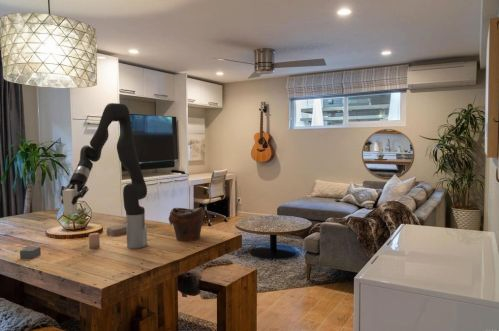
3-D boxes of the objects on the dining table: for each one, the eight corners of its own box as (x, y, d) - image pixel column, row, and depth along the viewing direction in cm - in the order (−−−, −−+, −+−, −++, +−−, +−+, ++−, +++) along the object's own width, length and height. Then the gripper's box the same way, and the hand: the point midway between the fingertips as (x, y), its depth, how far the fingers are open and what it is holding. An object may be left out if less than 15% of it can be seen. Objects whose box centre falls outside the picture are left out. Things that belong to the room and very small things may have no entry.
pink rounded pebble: (101, 246, 185) (101, 232, 185) (96, 249, 180) (96, 235, 180) (92, 245, 185) (91, 232, 185) (87, 248, 180) (86, 235, 180)
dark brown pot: (165, 236, 202) (165, 205, 200) (198, 232, 211) (198, 202, 210) (174, 245, 186) (173, 211, 185) (209, 240, 195) (209, 208, 194)
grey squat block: (40, 254, 172) (40, 246, 172) (32, 259, 166) (32, 250, 166) (28, 254, 172) (28, 246, 172) (20, 258, 166) (19, 250, 166)
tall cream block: (77, 212, 179) (76, 189, 178) (72, 214, 175) (71, 190, 174) (69, 212, 179) (67, 189, 178) (63, 214, 175) (62, 190, 174)
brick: (113, 237, 203) (112, 229, 202) (105, 234, 208) (105, 226, 208) (138, 231, 215) (138, 223, 215) (131, 229, 221) (131, 221, 220)
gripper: (63, 172, 183) (50, 199, 172) (90, 172, 182) (78, 199, 171) (70, 181, 189) (57, 208, 178) (96, 181, 188) (85, 208, 177)
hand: (68, 203), depth 175 cm, fingers closed on tall cream block, 4 cm apart
